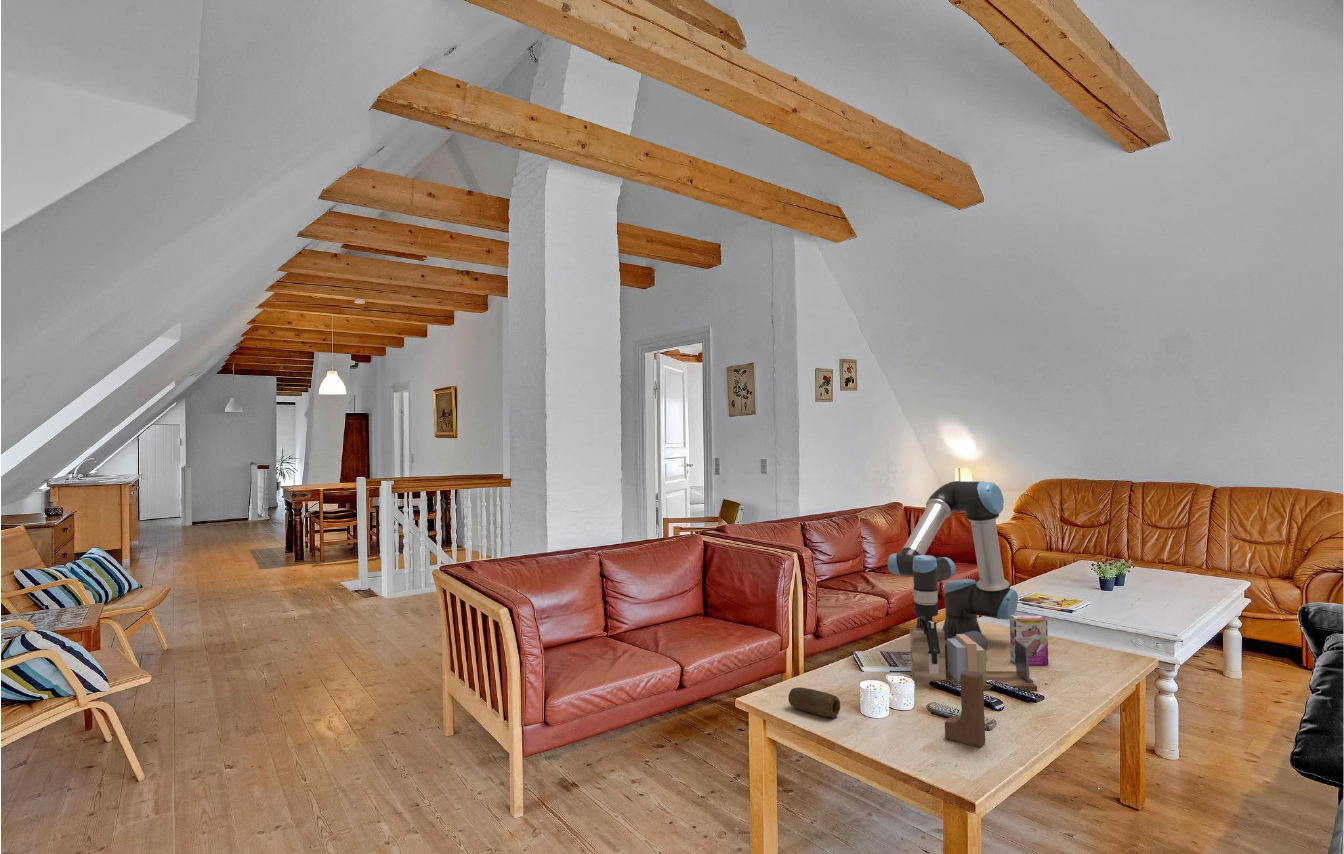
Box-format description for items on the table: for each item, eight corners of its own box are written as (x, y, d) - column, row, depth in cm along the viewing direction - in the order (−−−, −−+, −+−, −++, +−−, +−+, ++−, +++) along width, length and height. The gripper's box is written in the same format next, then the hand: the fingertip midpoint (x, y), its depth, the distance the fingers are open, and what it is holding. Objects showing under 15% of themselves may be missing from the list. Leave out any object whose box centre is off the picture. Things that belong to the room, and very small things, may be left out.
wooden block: (944, 738, 176) (942, 670, 177) (950, 733, 180) (947, 665, 180) (980, 748, 171) (978, 677, 171) (985, 741, 174) (983, 672, 175)
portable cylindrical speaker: (843, 714, 194) (842, 691, 194) (832, 722, 188) (831, 698, 189) (797, 703, 203) (797, 681, 204) (786, 710, 198) (785, 687, 198)
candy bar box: (1016, 665, 233) (1014, 618, 233) (1010, 661, 238) (1008, 614, 238) (1049, 666, 232) (1047, 618, 232) (1043, 661, 237) (1041, 614, 237)
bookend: (1016, 674, 220) (1015, 640, 220) (1022, 674, 220) (1021, 640, 220) (1027, 682, 212) (1025, 647, 212) (1033, 682, 212) (1032, 647, 212)
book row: (948, 671, 224) (946, 634, 224) (975, 671, 223) (974, 634, 223) (958, 682, 213) (957, 643, 213) (988, 683, 212) (986, 643, 212)
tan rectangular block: (911, 675, 225) (909, 627, 226) (941, 675, 224) (940, 627, 225) (914, 680, 221) (913, 631, 221) (946, 680, 220) (944, 631, 220)
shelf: (944, 675, 225) (944, 670, 225) (1018, 675, 223) (1018, 671, 223) (958, 689, 211) (957, 685, 211) (1037, 690, 209) (1037, 686, 209)
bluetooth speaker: (961, 674, 225) (959, 645, 225) (934, 668, 232) (933, 639, 232) (990, 659, 240) (989, 631, 240) (964, 654, 247) (963, 627, 247)
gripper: (905, 594, 236) (907, 654, 235) (924, 611, 211) (927, 679, 211) (926, 594, 235) (928, 654, 235) (949, 611, 211) (951, 679, 210)
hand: (928, 666), depth 223 cm, fingers open, 13 cm apart
